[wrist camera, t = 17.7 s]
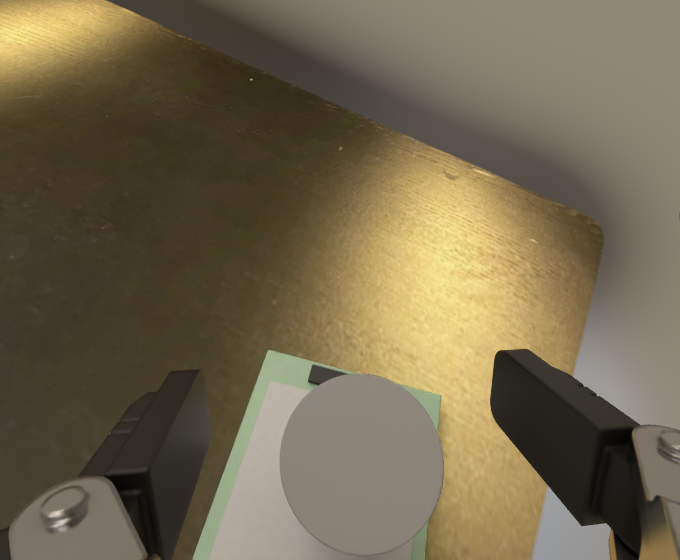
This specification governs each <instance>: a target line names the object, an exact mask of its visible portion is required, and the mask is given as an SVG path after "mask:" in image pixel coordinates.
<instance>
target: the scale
mask: <svg viewBox="0 0 680 560" xmlns="http://www.w3.org/2000/svg"><path fill="white" fill-rule="evenodd" d="M347 374H359V373H355V372H351V371H347V370H343V369H340V368H336V367H332V366H328V365H325V364H321V363H317V362H313V361H309V360H306V359H302V358H298V357H294V356H290V355H287V354H283V353H279V352H275V351H272V350H268V351H267V354H266V357H265V360H264V363H263V365H262V368H261V371H260V374H259V376H258V379H257V382H256V385H255V387H254V390H253V393H252V396H251V398H250V401H249V404H248V407H247V409H246V412H245V415H244V418H243V420H242V423H241V426H240V429H239V432H238V434H237V437H236V440H235V443H234V445H233V448H232V451H231V454H230V456H229V459H228V462H227V465H226V467H225V470H224V473H223V476H222V478H221V481H220V484H219V487H218V489H217V492H216V495H215V498H214V501H213V503H212V506H211V509H210V512H209V514H208V517H207V520H206V523H205V525H204V528H203V531H202V534H201V536H200V539H199V542H198V545H197V547H196V550H195V553H194V556H193V558H192V560H424V559H425V550H426V540H427V530H428V522H427V523H426V525H425V526H424V527H423V528H422V530H421V531H420V532H419V533H418V534H417V535H416V536H415V537H414V538H412V539H411V540H410V541H409V542H407V543H406V544H404V545H403V546H401V547H399V548H397V549H395V550H393V551H390V552H387V553H384V554H380V555H374V556H355V555H349V554H345V553H342V552H339V551H336V550H334V549H332V548H330V547H328V546H326V545H324V544H323V543H321V542H319V541H318V540H317V539H316V538H314V537H313V536H312V535H311V534H310V533H309V532H308V531H307V530H306V529H305V528H304V527H303V526H302V525H301V523H300V522H299V521H298V519H297V518H296V516H295V515H294V513H293V511H292V509H291V508H290V506H289V503H288V501H287V499H286V496H285V493H284V490H283V486H282V482H281V476H280V447H281V442H282V437H283V434H284V431H285V428H286V425H287V423H288V420H289V418H290V416H291V415H292V413H293V411H294V410H295V408H296V407H297V405H298V404H299V403H300V402H301V400H302V399H303V398H304V397H305V396H306V395H307V394H308V393H309V392H310V391H312V390H313V389H314V388H316V387H317V386H319V385H320V384H322V383H324V382H326V381H328V380H330V379H332V378H335V377H338V376H342V375H347ZM398 385H400V384H398ZM400 386H401V387H403V388H404V389H405V390H407V391H408V392H409V393H410V394H412V395H413V396H414V397H415V398H416V399H417V400H418V401H419V402H420V404H421V405H422V406H423V407H424V409H425V410H426V412H427V413H428V415H429V416H430V418H431V420H432V422H433V424H434V426H435V428H436V430H437V433H438V424H439V414H440V405H441V395H438V394H434V393H431V392H427V391H423V390H419V389H415V388H412V387H408V386H404V385H400ZM428 521H429V520H428Z"/></svg>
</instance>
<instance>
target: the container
mask: <svg viewBox="0 0 680 560" xmlns="http://www.w3.org/2000/svg"><path fill="white" fill-rule="evenodd" d="M443 475H444V461H443V452H442V447H441V443H440V439H439V436H438V433H437V430H436V428H435V426H434V424H433V422H432V420H431V418H430V416H429V415H428V413H427V412H426V410H425V409H424V407H423V406H422V405H421V404H420V402H419V401H418V400H417V399H416V398H415V397H414V396H413V395H412V394H410V393H409V392H408V391H407V390H405V389H404V388H403V387H401V386H400V385H398V384H396V383H394V382H392V381H390V380H388V379H385V378H383V377H379V376H375V375H370V374H347V375H342V376H338V377H335V378H332V379H330V380H328V381H326V382H324V383H322V384H320V385H319V386H317V387H316V388H314V389H313V390H312V391H310V392H309V393H308V394H307V395H306V396H305V397H304V398H303V399H302V400H301V402H300V403H299V404H298V405H297V407H296V408H295V410H294V411H293V413H292V415H291V416H290V418H289V420H288V423H287V425H286V428H285V431H284V434H283V437H282V442H281V447H280V476H281V482H282V486H283V490H284V493H285V496H286V499H287V501H288V503H289V506H290V508H291V509H292V511H293V513H294V515H295V516H296V518H297V519H298V521H299V522H300V523H301V525H302V526H303V527H304V528H305V529H306V530H307V531H308V532H309V533H310V534H311V535H312V536H313V537H314V538H316V539H317V540H318V541H319V542H321V543H323V544H324V545H326V546H328V547H330V548H332V549H334V550H336V551H339V552H342V553H345V554H349V555H355V556H374V555H380V554H384V553H387V552H390V551H393V550H395V549H397V548H399V547H401V546H403V545H404V544H406V543H407V542H409V541H410V540H411V539H412V538H414V537H415V536H416V535H417V534H418V533H419V532H420V531H421V530H422V528H423V527H424V526H425V525H426V523H427V522H428V520H429V519H430V517H431V516H432V514H433V512H434V510H435V508H436V505H437V503H438V500H439V497H440V493H441V489H442V484H443Z"/></svg>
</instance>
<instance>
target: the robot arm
mask: <svg viewBox="0 0 680 560" xmlns="http://www.w3.org/2000/svg"><path fill="white" fill-rule="evenodd" d="M490 405H491V411H492V415H493V417H494V419H495V421H496V423H497V424H498V426H499V427H500V428H501V429H502V430H503V432H504V433H505V434H506V435H507V436H508V438H509V439H510V440H511V441H512V442H513V444H514V445H515V446H516V447H517V449H518V450H519V451H520V452H521V453H522V455H523V456H524V457H525V458H526V459H527V461H528V462H529V463H530V464H531V465H532V467H533V468H534V469H535V470H536V471H537V473H538V474H539V475H540V476H541V478H542V479H543V480H544V481H545V482H546V484H547V485H548V486H549V487H550V488H551V490H552V491H553V492H554V493H555V494H556V496H557V497H558V498H559V499H560V500H561V502H562V503H563V504H564V505H565V506H566V508H567V509H568V510H569V511H570V513H571V514H572V515H573V516H574V517H575V519H576V520H577V521H578V522H579V523H580V525H581V526H586V525H594V524H602V523H607V524H608V525H609V526H610V527H611V532H610V536H609V553H610V560H680V430H677V429H673V428H670V427H665V426H659V425H640V424H638V423H637V422H635V421H634V420H633V419H631V418H630V417H628V416H627V415H625V414H624V413H623V412H621V411H620V410H618V409H617V408H616V407H614V406H613V405H611V404H610V403H609V402H607V401H606V400H604V399H603V398H602V397H600V396H597V395H596V393H594V392H593V391H592V390H590V389H589V388H588V387H584V386H583V384H582V383H580V382H579V381H578V380H576V379H575V378H573V377H572V376H571V375H569V374H568V373H565V372H563V371H561V370H559V369H556V368H554V367H552V366H550V365H549V364H548V363H546V362H545V361H543V360H542V359H541V358H539V357H538V356H537V355H535V354H534V353H532V352H531V351H530V350H528V349H515V350H500V351H498V352H497V353H496V355H495V359H494V368H493V378H492V388H491V398H490ZM209 440H210V417H209V409H208V400H207V392H206V383H205V376H204V372H203V371H202V370H201V369H200V370H184V371H171V372H170V373H169V374H168V376H167V378H166V379H165V381H164V382H163V384H162V385H161V387H160V388H159V390H158V391H157V392H148V393H146V394H145V395H144V396H142V397H141V398H140V399H138V400H137V401H135V402H134V403H133V404H131V405H130V406H129V408H128V409H127V410H126V412H125V413H124V414H123V416H122V417H121V419H120V422H118V423H117V424H116V425H115V427H114V428H113V429H112V431H111V435H108V436H107V438H106V439H105V440H104V442H103V443H102V444H101V446H100V447H99V449H98V450H97V451H96V453H95V454H94V455H93V457H92V458H91V459H90V461H89V462H88V464H87V465H86V466H85V468H84V469H83V470H82V472H81V473H80V475H79V476H78V477H77V478H74V479H71V480H68V481H65V482H63V483H60V484H58V485H56V486H54V487H52V488H50V489H48V490H46V491H45V492H43V493H41V494H40V495H39V496H37V497H36V498H34V499H33V500H32V501H31V502H29V503H28V504H27V505H26V506H25V507H24V508H23V509H22V510H21V511H20V512H19V513H18V515H17V516H16V517H15V518H14V520H13V522H12V524H11V526H10V527H8V528H5V529H2V530H0V560H172V557H173V554H174V551H175V548H176V545H177V542H178V539H179V535H180V532H181V529H182V526H183V523H184V520H185V517H186V514H187V511H188V508H189V505H190V502H191V499H192V496H193V492H194V489H195V486H196V483H197V480H198V477H199V474H200V471H201V468H202V465H203V462H204V459H205V456H206V453H207V450H208V446H209Z"/></svg>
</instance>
